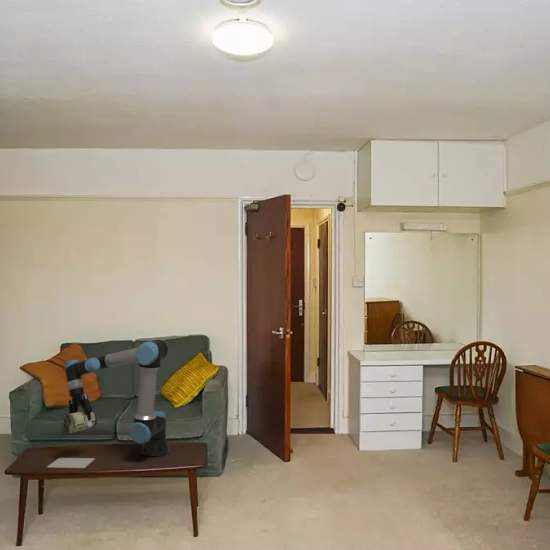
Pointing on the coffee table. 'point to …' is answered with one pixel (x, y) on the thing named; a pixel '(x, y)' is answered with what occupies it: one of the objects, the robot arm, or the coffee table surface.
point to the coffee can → (78, 421)
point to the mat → (71, 463)
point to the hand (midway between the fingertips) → (83, 428)
